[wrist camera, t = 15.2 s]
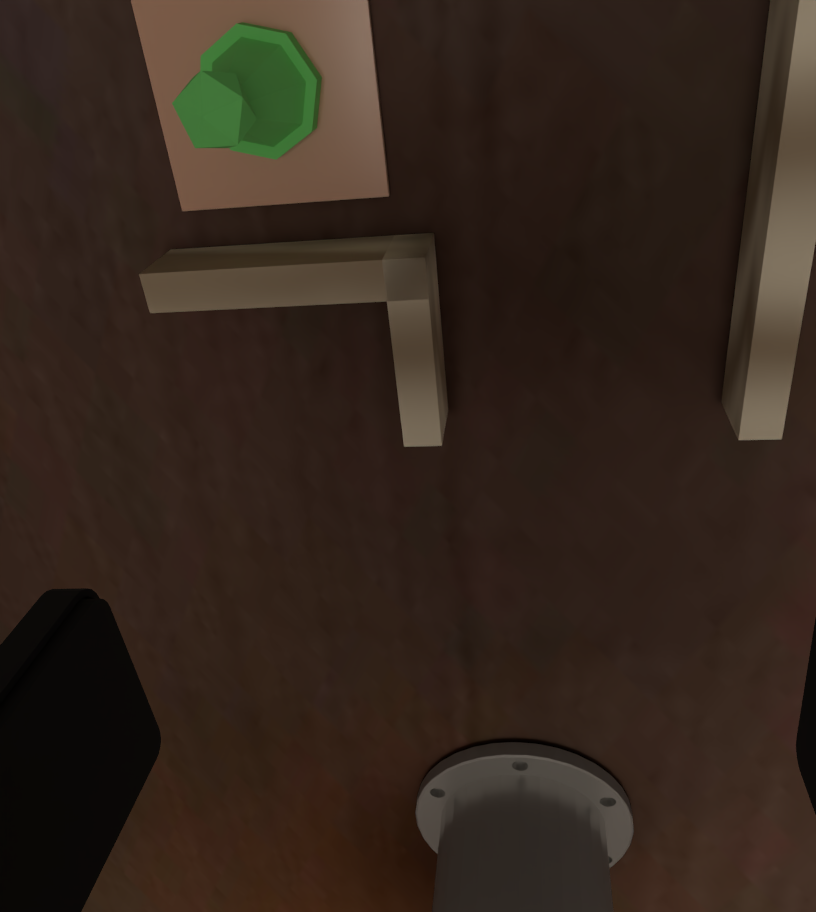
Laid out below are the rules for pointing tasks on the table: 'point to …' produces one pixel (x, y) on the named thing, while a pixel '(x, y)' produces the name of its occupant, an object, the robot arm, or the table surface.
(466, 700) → the table surface
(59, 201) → the table surface
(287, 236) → the table surface
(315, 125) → the game piece
